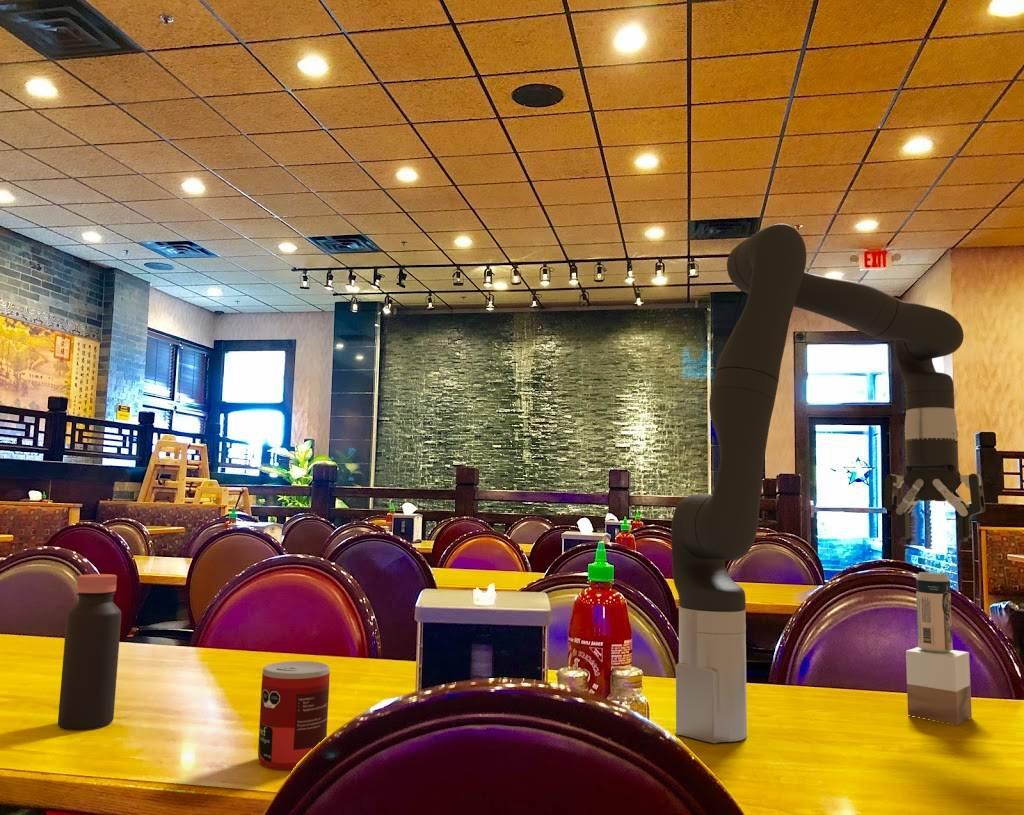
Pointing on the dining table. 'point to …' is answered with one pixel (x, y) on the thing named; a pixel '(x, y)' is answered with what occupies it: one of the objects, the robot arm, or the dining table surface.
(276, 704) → the canned food
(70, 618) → the bottle
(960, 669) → the tower top
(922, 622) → the beer can
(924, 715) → the tower base
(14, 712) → the dining table surface
